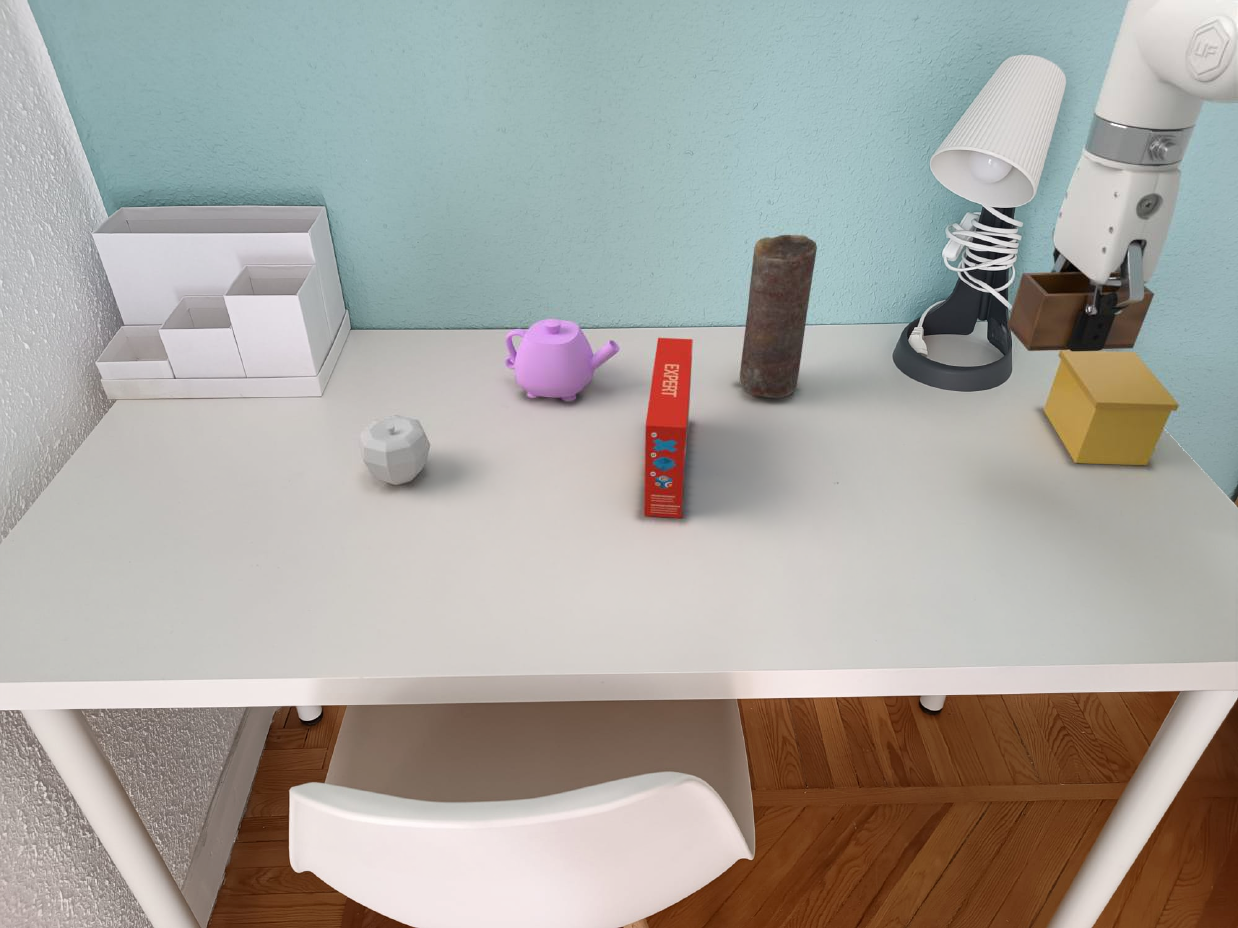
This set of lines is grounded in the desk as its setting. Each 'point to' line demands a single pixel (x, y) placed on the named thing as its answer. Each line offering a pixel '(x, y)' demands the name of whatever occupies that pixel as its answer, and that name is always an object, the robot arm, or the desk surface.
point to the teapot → (555, 359)
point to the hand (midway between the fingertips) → (1070, 333)
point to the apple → (394, 449)
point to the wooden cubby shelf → (1067, 311)
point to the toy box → (667, 428)
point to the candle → (777, 314)
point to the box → (1108, 407)
